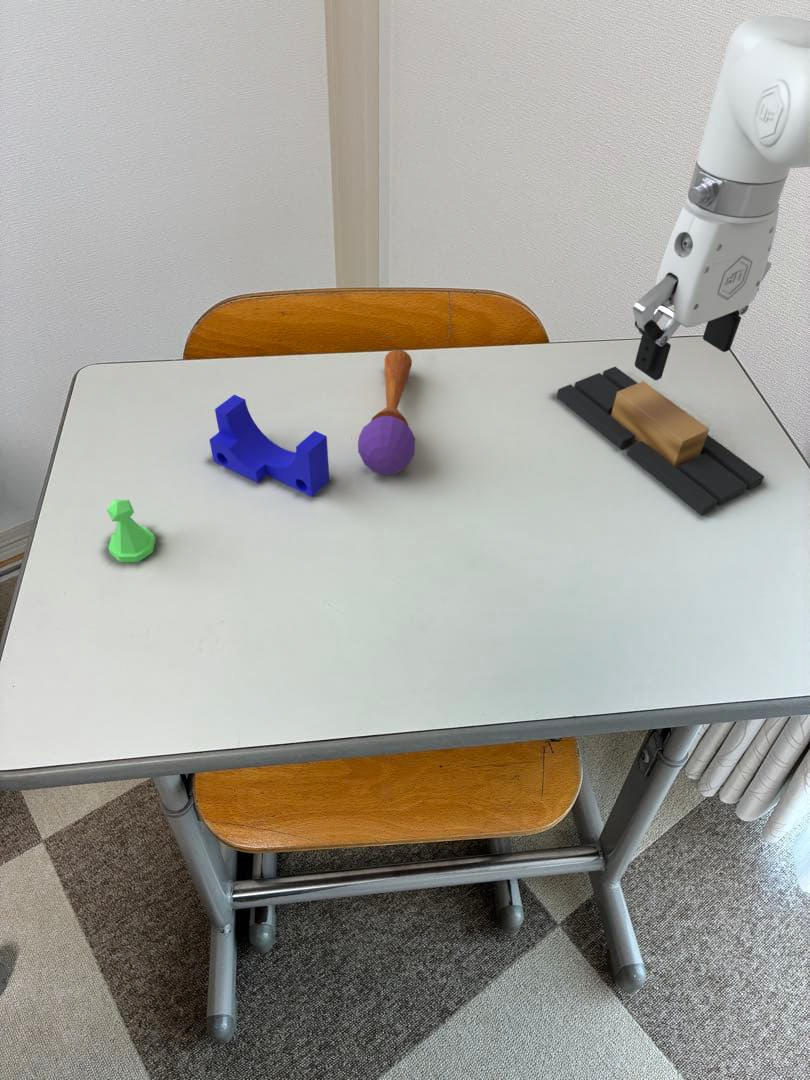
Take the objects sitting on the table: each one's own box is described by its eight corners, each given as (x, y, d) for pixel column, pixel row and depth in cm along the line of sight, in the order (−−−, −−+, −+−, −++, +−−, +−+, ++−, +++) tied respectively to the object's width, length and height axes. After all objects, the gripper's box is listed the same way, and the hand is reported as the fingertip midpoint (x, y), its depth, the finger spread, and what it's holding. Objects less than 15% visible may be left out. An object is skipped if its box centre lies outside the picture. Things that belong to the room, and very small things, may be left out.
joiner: (698, 457, 87) (709, 429, 84) (672, 470, 86) (682, 441, 83) (635, 409, 93) (643, 380, 90) (609, 420, 91) (617, 391, 88)
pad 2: (761, 484, 84) (765, 476, 84) (701, 515, 81) (704, 507, 80) (685, 427, 91) (688, 419, 90) (626, 454, 87) (629, 446, 86)
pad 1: (678, 423, 91) (681, 414, 90) (620, 449, 88) (622, 441, 87) (613, 374, 98) (615, 366, 97) (556, 397, 94) (558, 388, 93)
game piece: (161, 554, 76) (147, 510, 71) (115, 569, 74) (98, 524, 70) (150, 525, 78) (136, 480, 74) (105, 538, 77) (89, 493, 73)
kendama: (428, 345, 94) (419, 445, 79) (416, 388, 98) (406, 490, 83) (378, 334, 93) (360, 432, 78) (369, 377, 97) (350, 478, 82)
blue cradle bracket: (213, 461, 85) (204, 416, 81) (241, 439, 88) (234, 394, 83) (303, 505, 81) (298, 460, 76) (329, 480, 83) (326, 436, 79)
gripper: (696, 228, 63) (646, 404, 76) (835, 183, 70) (768, 352, 82) (630, 194, 68) (593, 365, 80) (767, 155, 74) (713, 319, 87)
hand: (682, 358), depth 81 cm, fingers open, 9 cm apart
